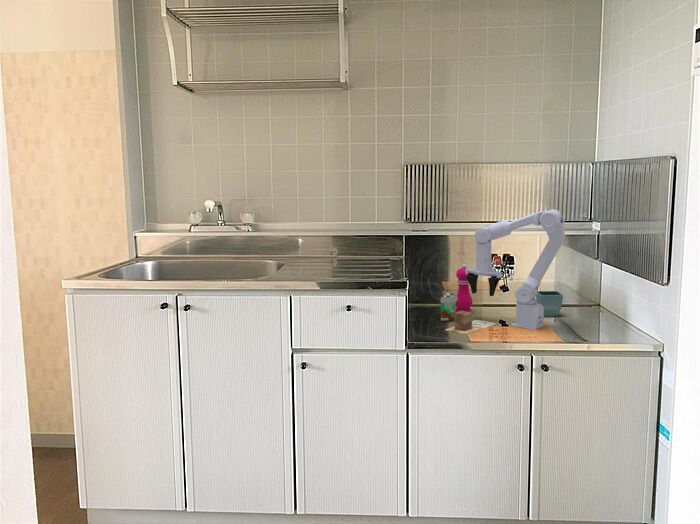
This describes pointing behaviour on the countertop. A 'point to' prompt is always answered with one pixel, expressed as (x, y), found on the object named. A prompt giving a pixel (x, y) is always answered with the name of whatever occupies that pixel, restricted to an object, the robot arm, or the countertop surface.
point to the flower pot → (550, 302)
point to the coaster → (462, 331)
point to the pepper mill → (463, 291)
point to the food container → (448, 306)
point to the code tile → (482, 323)
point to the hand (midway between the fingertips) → (482, 294)
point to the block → (463, 321)
